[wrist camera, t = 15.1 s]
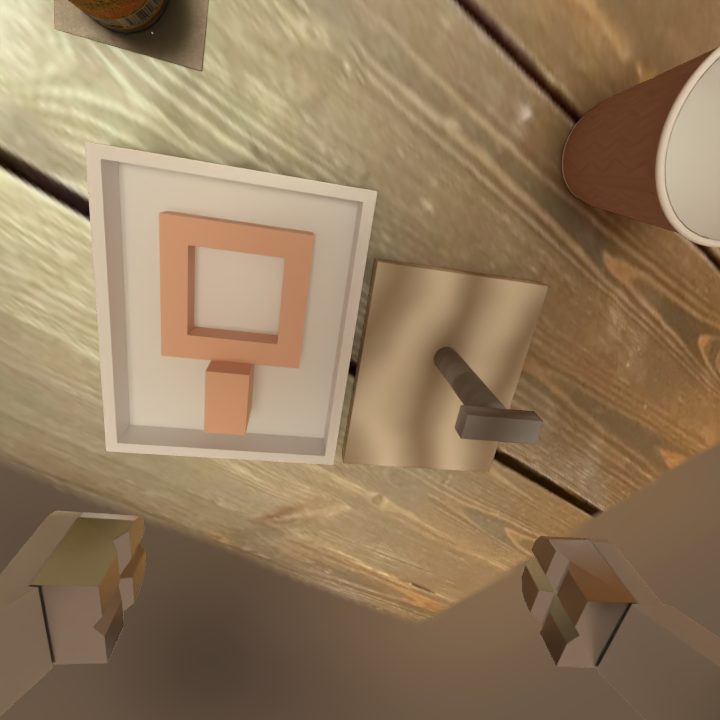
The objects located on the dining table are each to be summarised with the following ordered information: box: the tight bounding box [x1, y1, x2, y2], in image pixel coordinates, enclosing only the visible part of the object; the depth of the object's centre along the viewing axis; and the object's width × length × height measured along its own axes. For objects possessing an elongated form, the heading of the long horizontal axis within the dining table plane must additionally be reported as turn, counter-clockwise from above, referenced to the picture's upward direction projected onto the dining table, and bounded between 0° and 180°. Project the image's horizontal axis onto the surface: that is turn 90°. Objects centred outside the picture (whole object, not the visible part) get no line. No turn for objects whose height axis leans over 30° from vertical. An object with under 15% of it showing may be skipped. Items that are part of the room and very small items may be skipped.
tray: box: [85, 141, 377, 465], centre depth 32 cm, size 18×22×4 cm
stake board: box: [342, 259, 549, 472], centre depth 32 cm, size 14×18×13 cm
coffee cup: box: [562, 46, 720, 248], centre depth 27 cm, size 10×10×12 cm
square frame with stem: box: [159, 211, 314, 435], centre depth 31 cm, size 10×15×4 cm, turn 171°
